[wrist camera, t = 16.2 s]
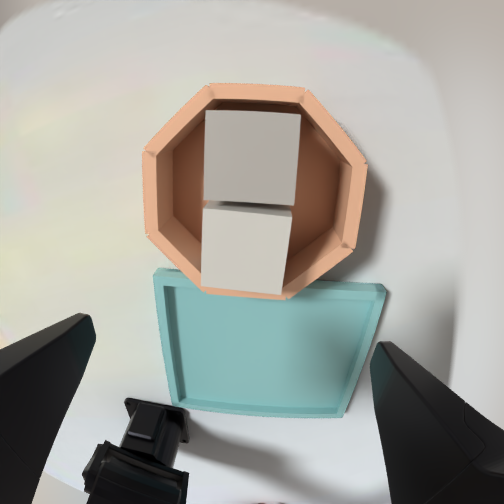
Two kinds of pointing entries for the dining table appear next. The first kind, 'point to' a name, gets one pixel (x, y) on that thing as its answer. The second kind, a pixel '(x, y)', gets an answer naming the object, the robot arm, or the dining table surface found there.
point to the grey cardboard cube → (245, 246)
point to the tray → (265, 347)
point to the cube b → (251, 156)
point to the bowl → (306, 192)
